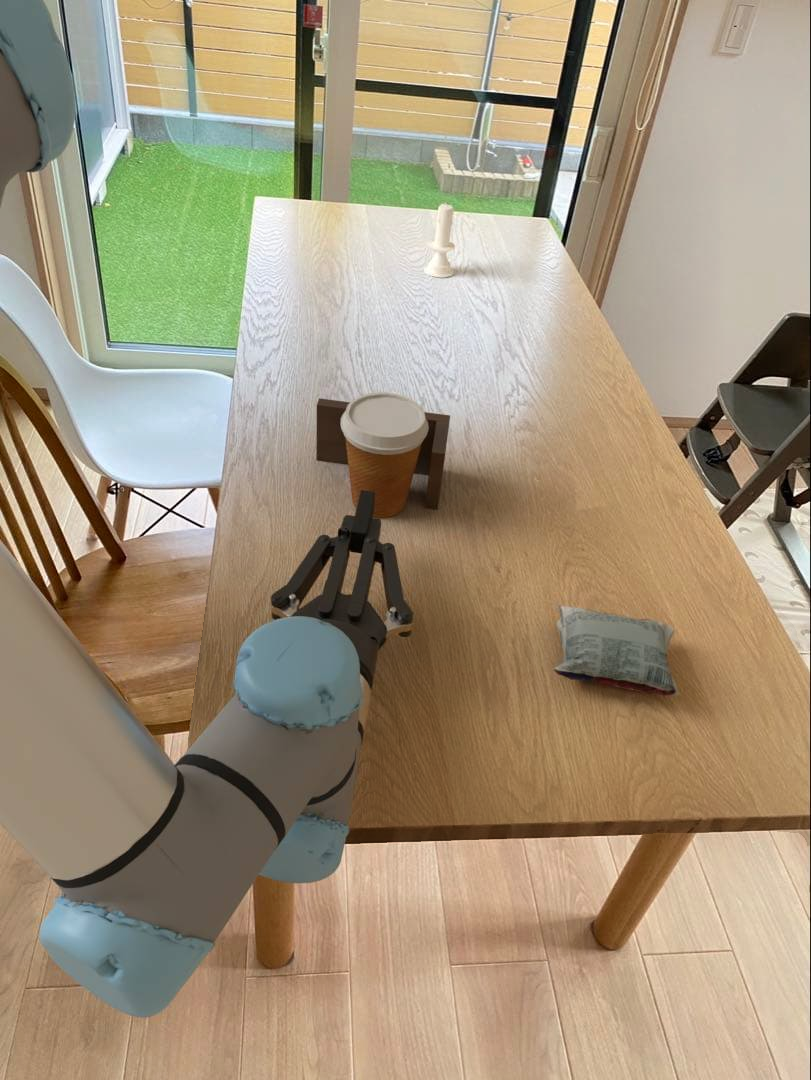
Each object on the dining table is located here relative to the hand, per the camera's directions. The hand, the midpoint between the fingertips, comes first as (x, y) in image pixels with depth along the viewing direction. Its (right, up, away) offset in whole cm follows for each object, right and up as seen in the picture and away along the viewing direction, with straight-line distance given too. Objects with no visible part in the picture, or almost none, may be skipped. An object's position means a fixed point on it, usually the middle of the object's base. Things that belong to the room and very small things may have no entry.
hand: (367, 501), depth 81 cm
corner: (0, +3, +13) cm, 14 cm away
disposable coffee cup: (+1, 0, +11) cm, 11 cm away
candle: (+10, +44, +59) cm, 74 cm away
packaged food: (+24, -16, -5) cm, 29 cm away
